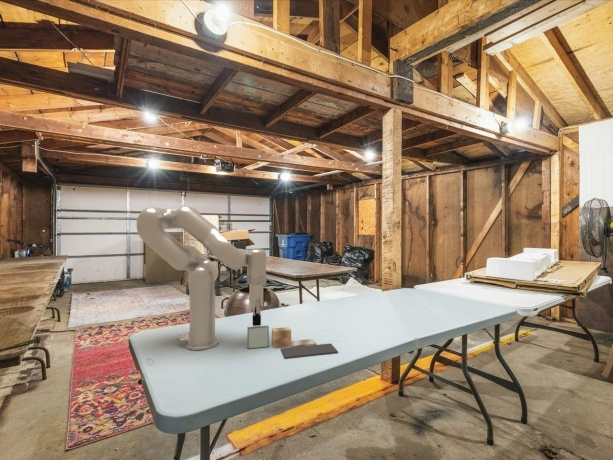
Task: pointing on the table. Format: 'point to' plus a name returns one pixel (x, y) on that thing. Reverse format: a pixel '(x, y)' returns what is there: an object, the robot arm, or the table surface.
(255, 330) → the tile
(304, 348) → the mat
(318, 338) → the table surface
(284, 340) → the tan stepped block piece
